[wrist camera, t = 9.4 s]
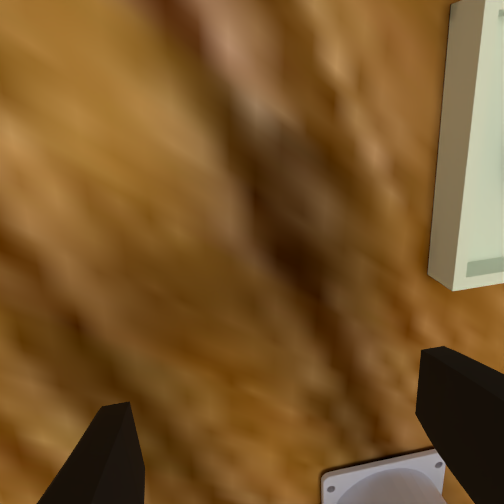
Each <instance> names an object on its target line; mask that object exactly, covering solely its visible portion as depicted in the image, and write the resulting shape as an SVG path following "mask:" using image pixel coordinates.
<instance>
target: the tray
mask: <svg viewBox="0 0 504 504" xmlns="http://www.w3.org/2000/svg"><path fill="white" fill-rule="evenodd" d="M428 275H429V276H431V277H432V278H434V279H435V280H437V281H438V282H440V283H441V284H443V285H444V286H445V287H447V288H448V289H450V290H451V291H457V290H463V289H469V288H475V287H481V286H488V285H494V284H500V283H504V0H461V1H459V2H456V3H453V4H451V11H450V22H449V34H448V45H447V57H446V68H445V80H444V91H443V103H442V114H441V126H440V137H439V149H438V160H437V172H436V183H435V195H434V206H433V218H432V229H431V241H430V252H429V264H428Z"/></svg>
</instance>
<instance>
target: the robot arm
mask: <svg viewBox="0 0 504 504" xmlns="http://www.w3.org/2000/svg"><path fill="white" fill-rule="evenodd" d="M415 414H416V416H417V418H418V420H419V421H420V423H421V425H422V427H423V429H424V430H425V432H426V434H427V436H428V438H429V439H430V441H431V443H432V444H433V446H434V448H435V449H431V450H427V451H422V452H418V453H413V454H409V455H404V456H399V457H395V458H390V459H386V460H381V461H376V462H372V463H367V464H363V465H358V466H353V467H349V468H344V469H340V470H335V471H330V472H327V473H325V474H324V475H323V476H322V478H321V499H322V504H447V503H446V501H445V500H444V498H443V497H442V488H443V480H444V473H445V465H447V466H448V468H449V469H450V471H451V472H452V473H453V475H454V476H455V477H456V479H457V480H458V481H459V483H460V484H461V486H462V487H463V488H464V490H465V491H466V492H467V494H468V495H469V496H470V498H471V499H472V500H473V502H474V503H475V504H504V374H502V373H500V372H498V371H496V370H494V369H492V368H490V367H488V366H486V365H484V364H482V363H480V362H478V361H476V360H474V359H471V358H469V357H467V356H465V355H463V354H461V353H459V352H456V351H454V350H452V349H449V348H447V347H445V346H441V347H435V348H430V349H424V350H421V358H420V369H419V380H418V391H417V401H416V412H415ZM144 488H145V466H144V462H143V457H142V453H141V449H140V444H139V440H138V436H137V432H136V427H135V423H134V419H133V414H132V410H131V406H130V402H125V403H119V404H113V405H108V406H102V407H101V408H100V410H99V411H98V412H97V414H96V415H95V417H94V419H93V420H92V422H91V423H90V425H89V427H88V428H87V430H86V431H85V433H84V434H83V436H82V438H81V439H80V441H79V442H78V444H77V445H76V447H75V448H74V450H73V452H72V453H71V455H70V456H69V458H68V459H67V461H66V462H65V464H64V465H63V467H62V468H61V469H60V471H59V472H58V474H57V475H56V477H55V478H54V480H53V481H52V483H51V484H50V485H49V487H48V488H47V490H46V491H45V493H44V494H43V496H42V497H41V498H40V500H39V501H38V503H37V504H144Z"/></svg>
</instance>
